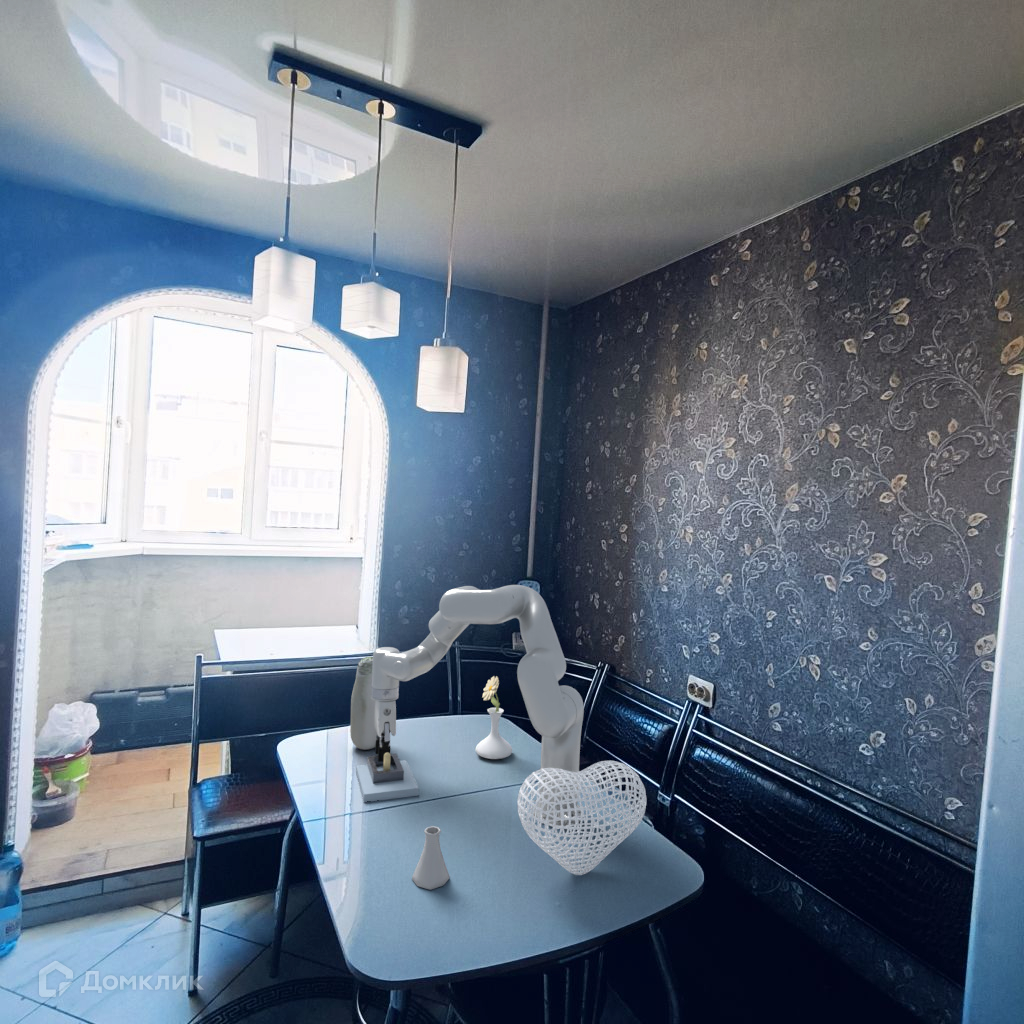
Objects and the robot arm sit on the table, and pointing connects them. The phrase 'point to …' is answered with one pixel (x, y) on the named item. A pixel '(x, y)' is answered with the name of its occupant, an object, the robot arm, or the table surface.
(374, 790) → the board
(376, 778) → the steel link
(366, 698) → the tall cream vase
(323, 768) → the table surface
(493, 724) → the flower in vase
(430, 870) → the flask
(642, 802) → the heart
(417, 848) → the table surface
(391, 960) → the table surface
